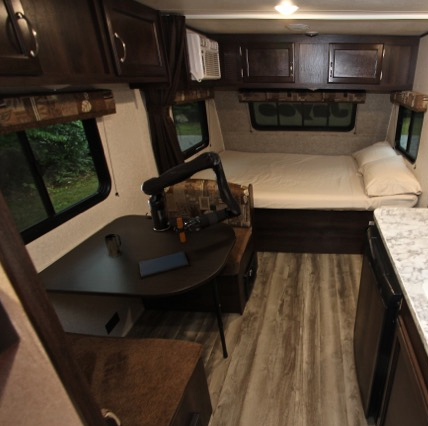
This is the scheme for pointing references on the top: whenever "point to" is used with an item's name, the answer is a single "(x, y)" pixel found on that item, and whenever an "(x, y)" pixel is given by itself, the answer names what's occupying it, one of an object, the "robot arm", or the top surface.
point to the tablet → (163, 264)
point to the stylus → (182, 235)
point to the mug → (113, 244)
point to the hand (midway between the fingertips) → (175, 230)
